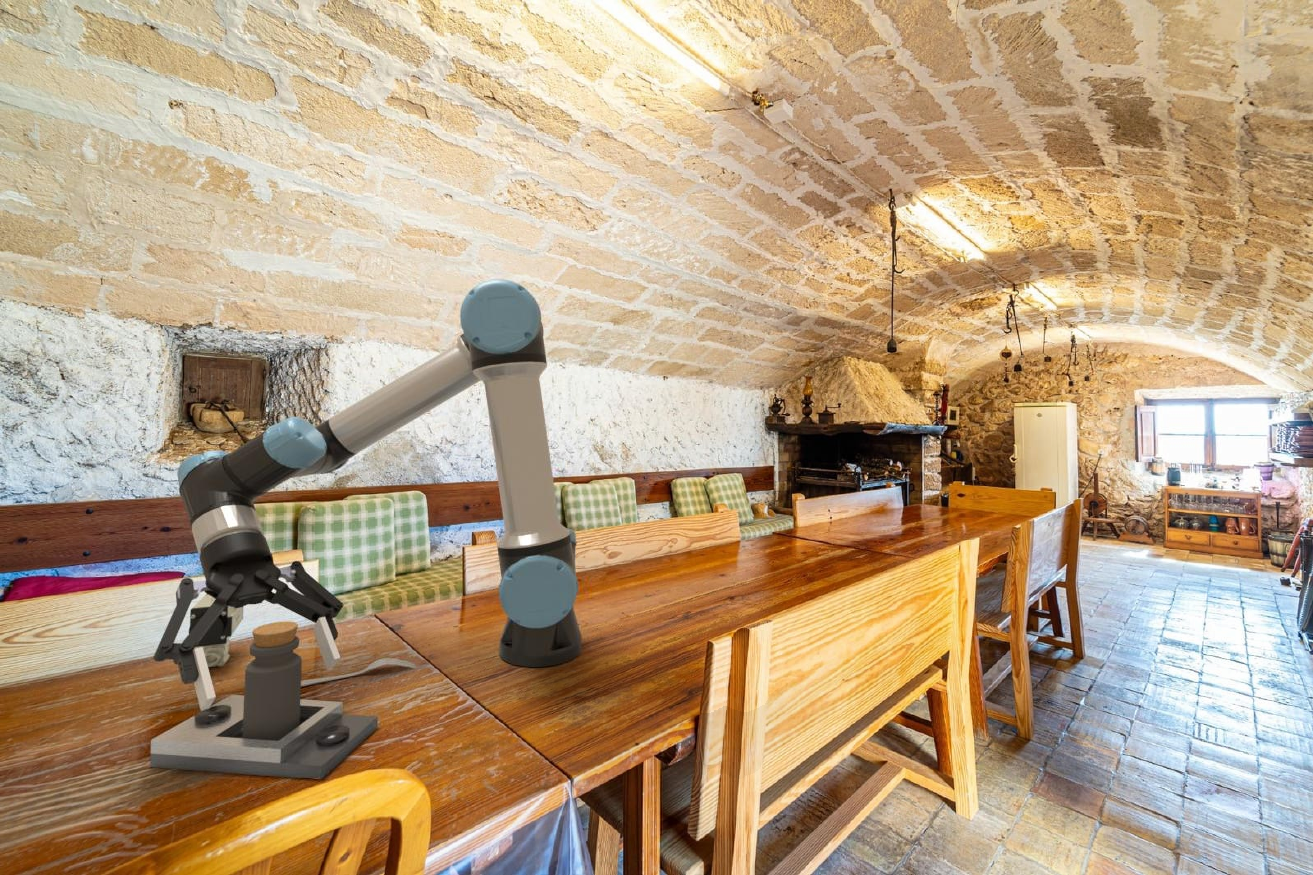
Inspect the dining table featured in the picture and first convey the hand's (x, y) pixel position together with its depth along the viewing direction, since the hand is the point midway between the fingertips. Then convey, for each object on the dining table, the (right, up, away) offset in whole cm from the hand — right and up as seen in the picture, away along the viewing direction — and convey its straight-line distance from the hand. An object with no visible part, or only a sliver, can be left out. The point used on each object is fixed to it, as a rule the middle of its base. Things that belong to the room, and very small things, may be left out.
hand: (276, 682), depth 66 cm
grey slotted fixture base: (-1, -8, +1) cm, 8 cm away
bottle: (-1, -9, +1) cm, 9 cm away
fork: (-3, -9, +20) cm, 22 cm away
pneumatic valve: (-27, -8, +23) cm, 36 cm away
